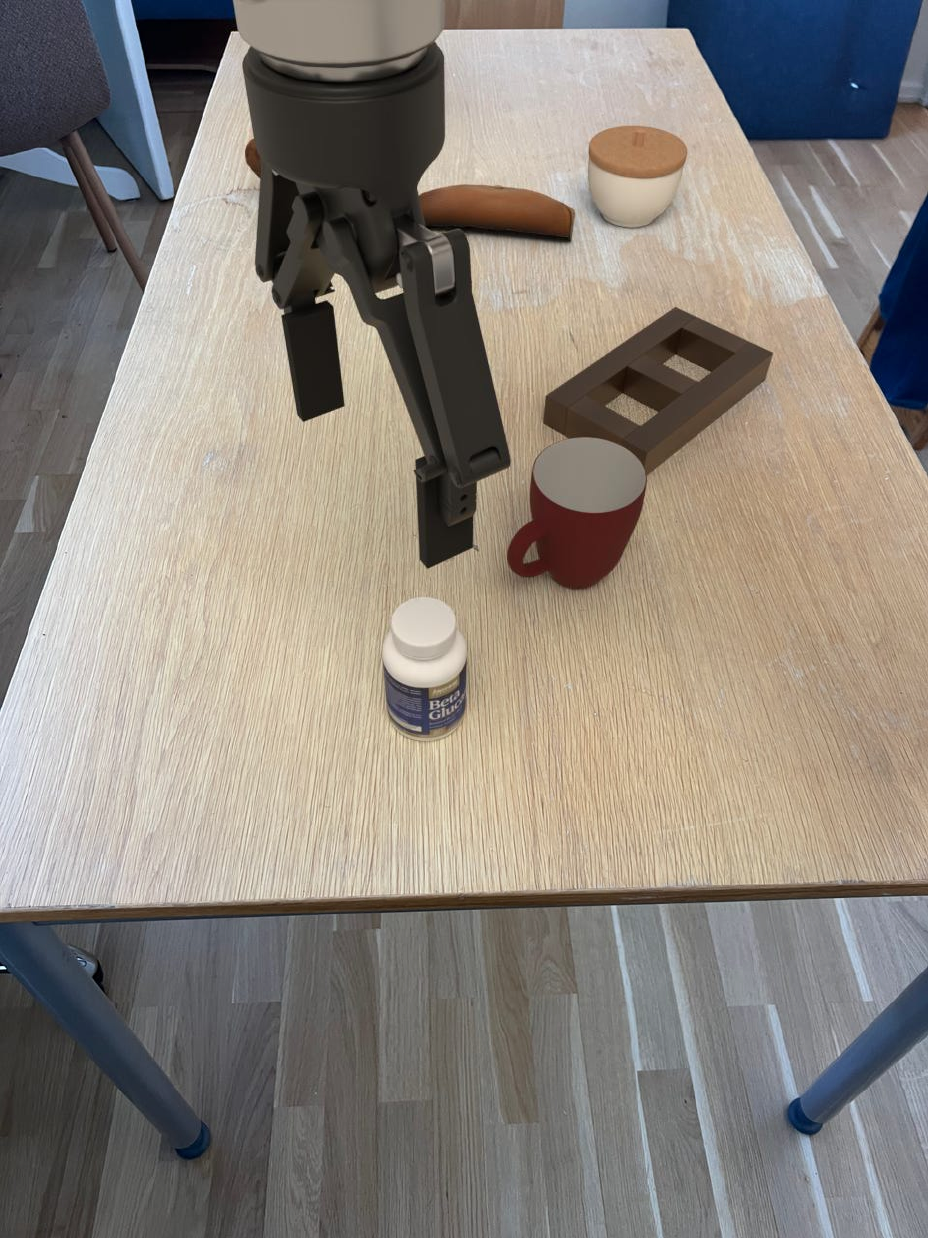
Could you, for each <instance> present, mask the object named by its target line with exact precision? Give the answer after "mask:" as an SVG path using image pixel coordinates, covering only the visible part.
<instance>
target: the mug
mask: <svg viewBox="0 0 928 1238" xmlns="http://www.w3.org/2000/svg"><path fill="white" fill-rule="evenodd" d="M647 485H648V475H647V474H646V470H645V468H644V466H643V464H642V462H641V461H640V460H639V459H638V457H637V456H636V455H635V454H633V453H632V452H631V451H630V450H628V449H626V448H625V447H623V446H621V445H619V444H617V443H614V442H612V441H608V440H605V439H600V438H593V437H576V438H566V439H562V440H559V441H556V442H554V443H552V444H550V445H548V446H547V447H545V448H544V449H543V450H542V451H541V452H539V454H538V455H537V456H536V458H535V459H534V462H533V465H532V469H531V475H530V485H529V508H530V515H531V520H530V521H528V522H527V523H525V524H523V525H522V526H521V527H520V528H519V529H518V530H517V531H516V533H515V534H514V535H513V537H512V539H511V540H510V542H509V545H508V548H507V552H506V561H507V564H508V567H509V569H510V570H511V571H512V572H513V573H514V574H515V575H517V576H518V577H520V578H524V579H526V578H527V579H528V578H534V577H537V576H540V575H542V574H545V573H546V572H548V574H549V575H550V577H552V579H553V580H554V581H555V582H556V583H557V584H559V585H560V586H562V587H564V588H566V589H570V590H585V589H586V590H587V589H588V588H591V587H593V586H595V585H596V584H598V583H600V582H601V580H603V579H604V578H605V577H606V576H608V575H609V574H610V573H611V572H612V571H613V570H614V569H615V568H616V566H617V565H618V564H619V562H620V561H621V559H622V557H623V554H624V552H625V550H626V548H627V546H628V544H629V542H630V540H631V537H632V536H633V533H634V531H635V528H636V527H637V525H638V523H639V520H640V517H641V514H642V511H643V507H644V503H645V498H646V497H645V496H646V491H647ZM534 543H535V548H536V553H537V555H538V558H537V559H536V560H533V561H529V562H524V561H525V557H526V554H527V552H528V550H529V549H530V547H531V546H532V545H533V544H534Z"/></svg>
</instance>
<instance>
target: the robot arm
mask: <svg viewBox="0 0 928 1238" xmlns="http://www.w3.org/2000/svg"><path fill="white" fill-rule="evenodd" d="M232 4H233V9H234V15H235V16H234V17H235V21H236V27H237V32H238V34H239V36H240V38H241V39H242V40H243V41H244V42H245V43H246V44H248V45H249V48H248V49H247V52H246V54H245V55H244V57H243V58H242V63H241V64H242V66H241V67H242V73H243V79H244V80H243V81H244V86H245V92H246V99H247V103H248V104H247V105H248V111H249V117H250V123H251V129H252V135H253V139H254V142H255V147H256V149H257V152H258V154H259V156H260V162H261V176H260V178H259V193H258V208H257V209H258V210H257V224H256V238H255V239H256V240H255V252H254V254H255V255H254V268H255V269H254V270H255V273H256V276H257V277H258V278H259V280H260V281H261V282H262V283H267V282H270V281H271V283H272V286H271V290H270V291H271V296H272V297H271V298H272V300H273V302H274V304H275V305H276V307H277V308H278V309H279V310H282V311H283V314H281V315H280V318H281V323H282V324H281V325H282V329H283V336H284V342H285V349H286V354H287V361H288V367H289V374H290V379H291V384H292V385H291V386H292V391H293V399H294V403H295V404H294V405H295V409H296V415H297V417H298V418H299V419H300V421H301V422H303V423H304V422H307V421H310V420H313V419H315V418H318V417H320V416H324V415H326V414H328V413H331V412H334V411H336V410H339V409H342V408H343V407H345V406H346V404H345V395H344V387H343V378H342V369H341V361H340V351H339V344H338V334H337V327H336V324H337V323H336V317H335V309H334V305H333V304H331V302H329V300H328V299H326V300H322V301H319V302H317V301H316V299H317V298H320V297H323V296H326V295H329V294H332V293H334V292H336V289H335V288H334V285H333V282H332V279H333V278H334V276H335V274H336V275H338V276H341V278H343V280H344V281H345V283H346V284H347V286H348V288H349V291H350V293H351V296H352V299H353V302H354V303H355V306H356V308H357V312H358V315H359V317H360V318H361V321H362V322H364V324H366V325H367V326H370V327H373V328H374V329H376V331H377V333H378V336H379V339H380V343H381V345H382V347H383V350H384V352H385V355H386V357H387V361H388V363H389V365H390V368H391V371H392V374H393V375H394V379H395V381H396V383H397V386H398V390H399V392H400V395H401V396H402V399H403V403H404V405H405V407H406V410H407V413H408V415H409V418H410V421H411V423H412V426H413V429H414V431H415V434H416V437H417V439H418V442H419V445H420V447H421V450H422V452H423V456H421V457H418V458H416V459H415V460H414V462H415V463H414V465H415V466H414V468H415V469H413V473H414V474H415V483H416V484H415V486H416V487H415V488H416V489H415V490H416V509H417V531H418V532H417V533H418V534H417V535H418V553H419V555H418V556H419V561H420V562H421V563H422V564H423V566H424V567H425V568H426V569H427V570H428V569H430V568H433V567H435V566H437V565H439V564H441V563H444V562H446V561H448V560H450V559H453V558H455V557H456V556H458V555H460V554H463V553H464V552H468V551H469V550H471V549H473V548H474V519H475V517H474V516H475V514H476V512H477V502H478V501H477V497H478V495H477V494H478V482H479V481H482V480H484V479H486V478H488V477H490V476H493V475H495V474H498V473H500V472H502V471H505V470H507V469H509V468H510V467H511V463H512V460H511V454H510V449H509V446H508V441H507V438H506V433H505V428H504V423H503V420H502V415H501V411H500V406H499V402H498V398H497V397H498V396H497V394H496V389H495V385H494V380H493V375H492V371H491V367H490V363H489V358H488V354H487V351H486V345H485V341H484V336H483V333H482V329H481V324H480V320H479V315H478V311H477V307H476V303H475V297H474V293H473V281H472V264H471V247H470V242H469V240H468V237H467V235H466V233H465V232H464V230H462V229H461V228H455V229H452V230H448V231H445V232H442V233H440V234H437V233H436V232H434V231H432V230H431V229H428V228H427V226H425V221H424V217H423V213H422V209H421V205H420V200H419V195H420V194H419V189H418V188H419V187H418V186H419V184H420V181H421V179H422V177H423V176H424V175H425V172H426V171H428V169H429V167H430V166H431V165H432V164H433V162H435V161H436V160H437V158H438V157H439V155H440V154H441V152H442V151H443V148H444V144H445V140H446V98H445V97H446V93H445V92H446V89H445V86H446V83H445V82H446V81H445V78H446V77H445V55H444V52H443V50H442V49H441V47H440V46H439V45H438V44H437V42H436V40H437V39H438V38H439V37H440V35H441V34H442V33H443V31H444V29H445V27H446V0H232ZM396 287H399V288H400V289H402V292H401V293H398V294H395V295H392V296H389V297H387V298H381V297H379V296H377V294H378V293H382V292H384V291H387V290H390V289H393V288H396Z"/></svg>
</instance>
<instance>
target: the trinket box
mask: <svg viewBox="0 0 928 1238" xmlns="http://www.w3.org/2000/svg"><path fill="white" fill-rule="evenodd" d="M687 157H688V147H687V145H686V144H685V142H684V141H683V140H682V139H681V138H680V137H678V136H677V135H675V134H673V133H671V132H669V131H666V130H664V129H661V128H656V127H652V126H644V125H621V126H620V125H619V126H613V127H609V128H607V129H604V130H601V131H599V132H598V133H596V134H595V135H594V136H593V137H591V139H590V141H589V144H588V161H587V163H588V164H587V182H588V183H587V184H588V190H589V194H590V197H591V199H592V202H593V203H594V205H595V206H596V208H597V210H599V212H600V213H601V214H602V217H603V218H604V220H606V222H608V223H610V224H611V225H612V224H613V225H614V226H617V227H621V228H632V229H633V228H642V227H645V226H648V225H650V224H652V223H653V222H654V221H655V219H656V218H657V217H659V216H660V215H662V214H663V212H665V211H666V210H667V209H668V208H669V206H670V205H671V203H672V202H673V200H674V199H675V196H676V195H677V192H678V189H679V187H680V183H681V181H682V177H683V172H684V167H685V163H686V161H687Z"/></svg>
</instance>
